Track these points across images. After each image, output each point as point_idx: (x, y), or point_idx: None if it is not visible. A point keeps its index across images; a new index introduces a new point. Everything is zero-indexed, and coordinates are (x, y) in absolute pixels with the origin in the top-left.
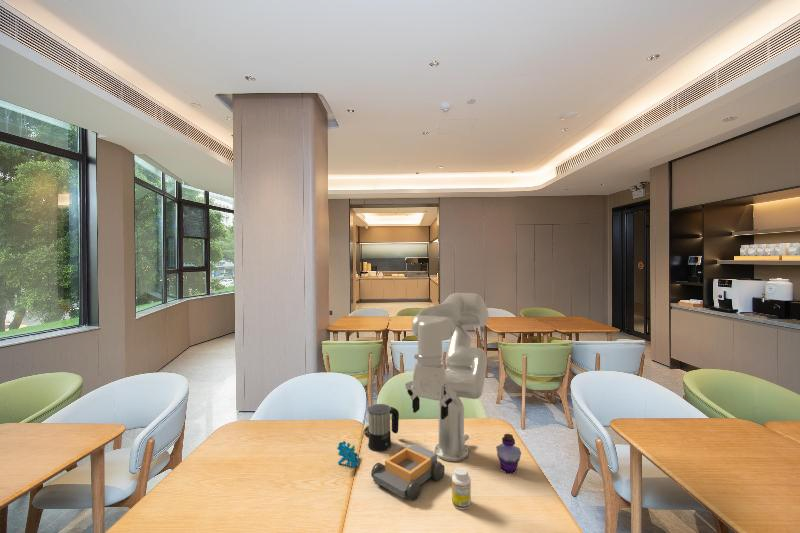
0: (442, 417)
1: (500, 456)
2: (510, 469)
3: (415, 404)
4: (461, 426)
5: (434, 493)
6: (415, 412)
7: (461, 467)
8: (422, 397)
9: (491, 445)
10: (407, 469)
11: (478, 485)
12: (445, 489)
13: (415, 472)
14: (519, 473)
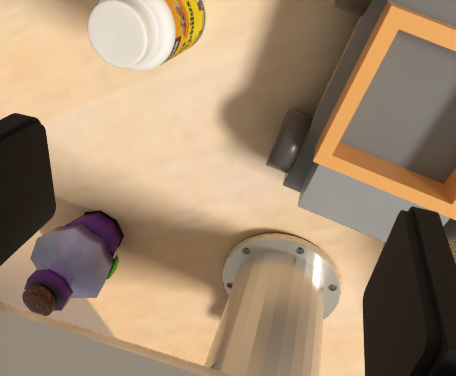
0: (5, 120)
1: (89, 241)
2: (82, 218)
3: (414, 295)
4: (211, 347)
5: (284, 38)
6: (399, 212)
7: (125, 65)
8: (190, 362)
9: (174, 325)
10: (423, 101)
11: (154, 133)
12: (250, 77)
13: (369, 46)
14: (71, 217)
